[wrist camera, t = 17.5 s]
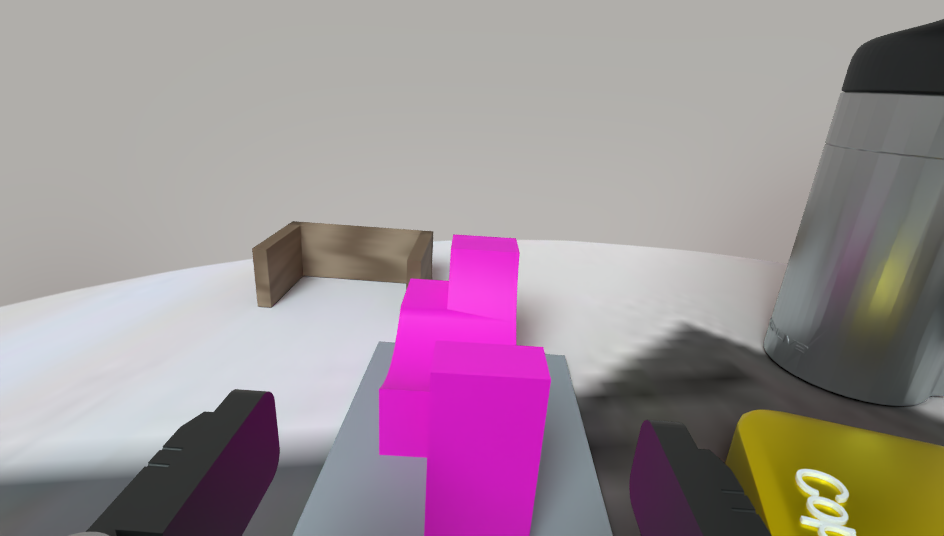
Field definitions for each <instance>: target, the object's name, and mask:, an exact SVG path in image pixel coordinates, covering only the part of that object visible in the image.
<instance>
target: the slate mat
mask: <svg viewBox="0 0 944 536" xmlns="http://www.w3.org/2000/svg"><path fill="white" fill-rule="evenodd" d="M394 347H395V343H392V342H379V343H378V345H377V347H376V350H375V352H374V354H373V356H372V359H371V361H370V363H369V365H368V367H367V370H366V372H365V374H364V376H363V379H362V381H361V383H360V385H359V388H358V390H357V392H356V394H355V397H354V399H353V401H352V403H351V406H350V408H349V410H348V412H347V415H346V417H345V419H344V421H343V424H342V426H341V428H340V430H339V432H338V435H337V437H336V439H335V441H334V444H333V446H332V448H331V450H330V453H329V455H328V457H327V459H326V462H325V464H324V466H323V468H322V471H321V473H320V475H319V477H318V480H317V482H316V484H315V486H314V489H313V491H312V493H311V495H310V498H309V500H308V502H307V504H306V506H305V509H304V511H303V513H302V515H301V518H300V520H299V522H298V524H297V527H296V529H295V531H294V533H293V536H424V525H425V499H426V473H427V458H423V457H406V456H389V455H379V388H380V387H381V386H382V385H383V383H384V381H385V379H386V376H387V374H388V371H389V368H390V364H391V360H392V356H393V352H394ZM545 357H546V361H547V365H548V369H549V373H550V377H551V384H550V392H549V399H548V406H547V413H546V420H545V427H544V435H543V442H542V449H541V456H540V463H539V471H538V478H537V485H536V492H535V499H534V506H533V514H532V521H531V528H530V535H529V536H613V534H612V531H611V527H610V523H609V520H608V516H607V512H606V508H605V505H604V501H603V497H602V493H601V490H600V486H599V482H598V479H597V475H596V471H595V467H594V464H593V460H592V456H591V452H590V449H589V445H588V441H587V438H586V434H585V430H584V426H583V423H582V419H581V415H580V412H579V408H578V404H577V400H576V397H575V393H574V389H573V385H572V382H571V378H570V374H569V371H568V367H567V363H566V359H565V356H564V355H550V354H545Z"/></svg>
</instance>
